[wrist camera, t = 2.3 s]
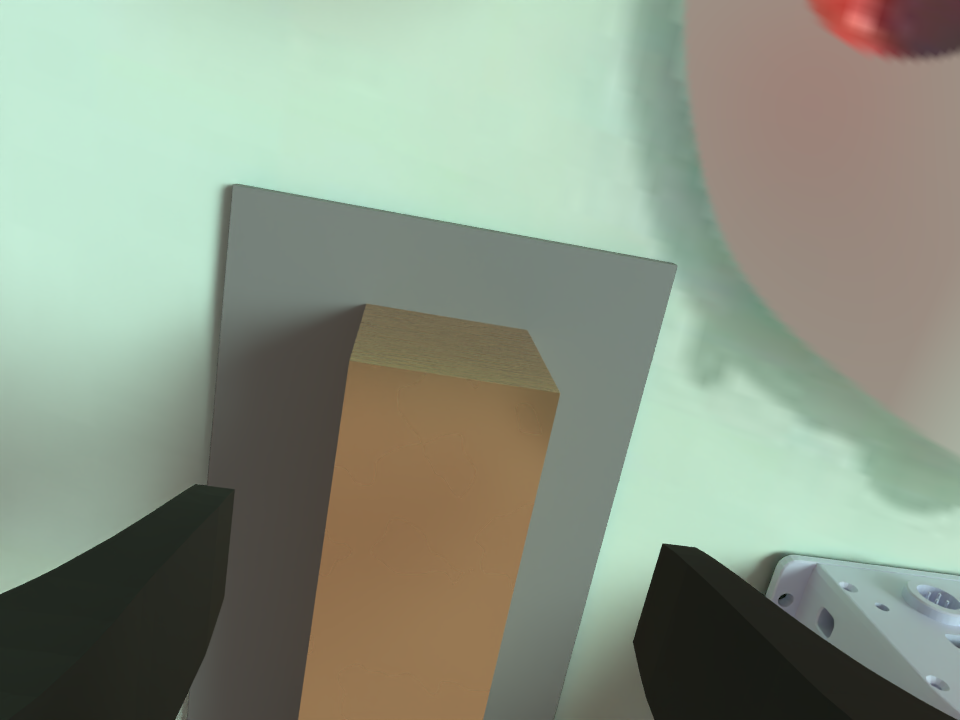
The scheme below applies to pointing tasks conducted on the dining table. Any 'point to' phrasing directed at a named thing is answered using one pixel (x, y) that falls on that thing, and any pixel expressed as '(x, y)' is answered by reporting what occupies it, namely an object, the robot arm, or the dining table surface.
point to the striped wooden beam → (426, 516)
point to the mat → (318, 409)
